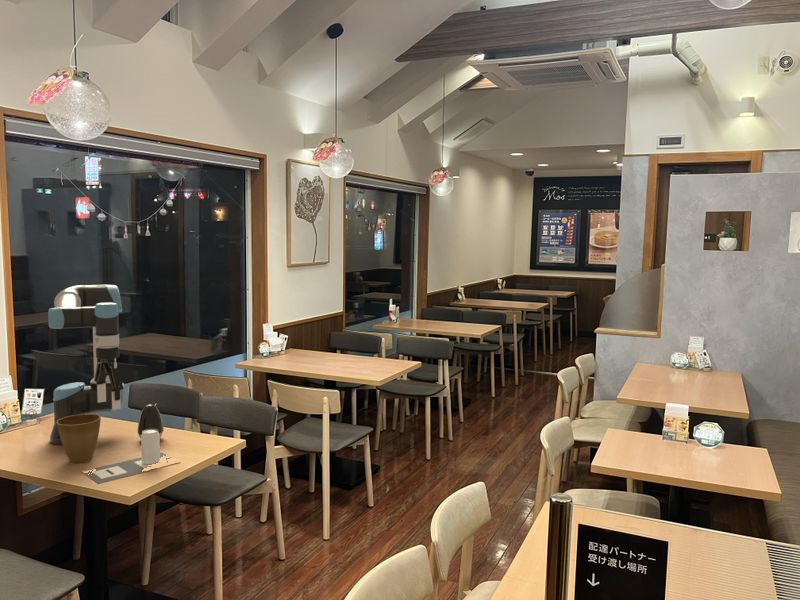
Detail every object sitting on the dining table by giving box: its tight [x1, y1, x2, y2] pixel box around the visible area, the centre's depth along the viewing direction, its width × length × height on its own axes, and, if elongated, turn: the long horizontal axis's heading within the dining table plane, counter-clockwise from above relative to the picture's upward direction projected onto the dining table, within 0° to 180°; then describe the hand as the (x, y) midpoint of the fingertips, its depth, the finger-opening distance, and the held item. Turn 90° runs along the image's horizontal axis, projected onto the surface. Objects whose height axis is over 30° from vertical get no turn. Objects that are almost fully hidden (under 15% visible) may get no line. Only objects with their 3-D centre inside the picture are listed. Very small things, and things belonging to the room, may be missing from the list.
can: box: [140, 429, 161, 465], centre depth 234 cm, size 6×6×12 cm
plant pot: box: [57, 413, 102, 464], centre depth 236 cm, size 15×15×16 cm
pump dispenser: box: [137, 403, 165, 439], centre depth 261 cm, size 10×10×15 cm
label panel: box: [83, 452, 172, 485], centre depth 230 cm, size 16×30×1 cm, turn 136°
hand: (109, 405), depth 222 cm, fingers open, 13 cm apart
